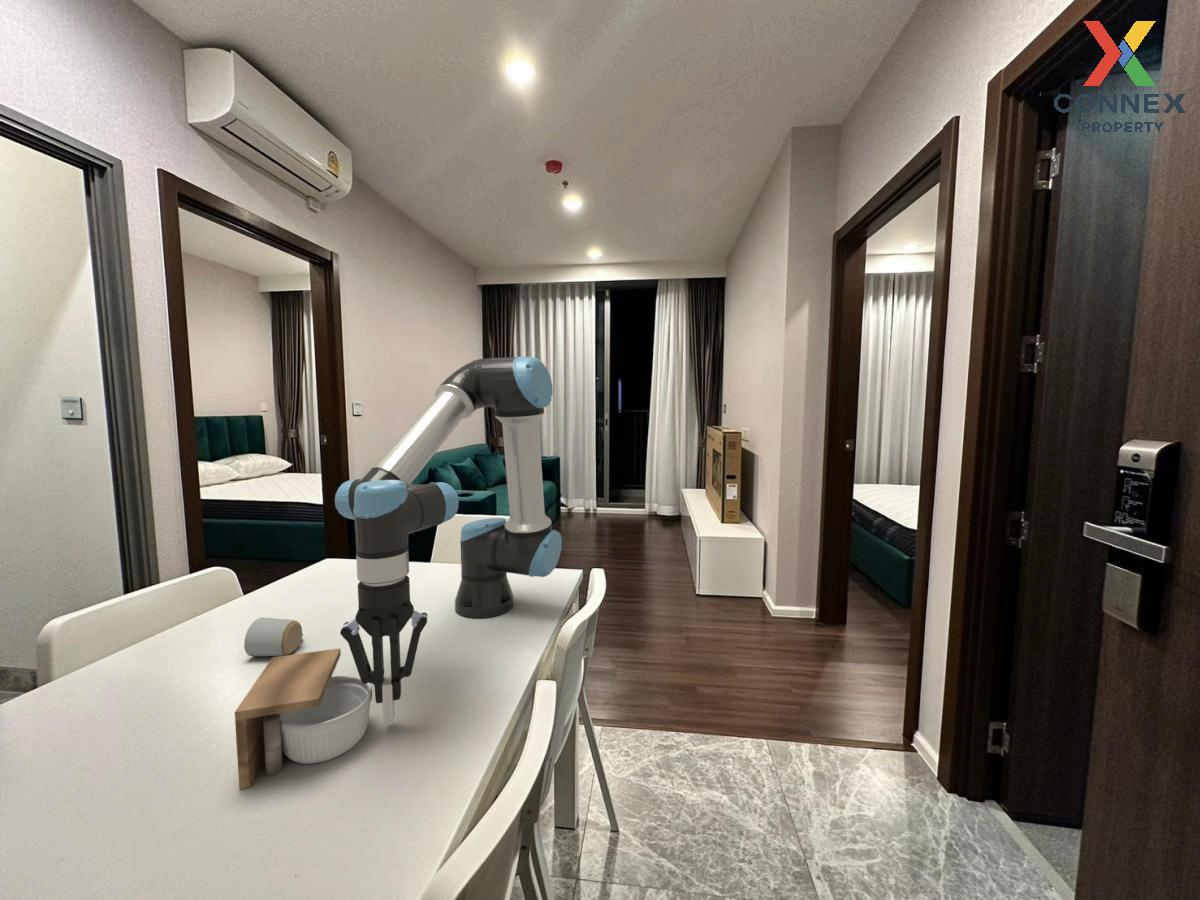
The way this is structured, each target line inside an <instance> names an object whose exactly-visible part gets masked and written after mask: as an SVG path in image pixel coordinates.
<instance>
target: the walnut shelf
mask: <svg viewBox="0 0 1200 900" xmlns="http://www.w3.org/2000/svg"><path fill="white" fill-rule="evenodd" d="M341 655H342V654H341V648H333V649H325V650H317V651H310V652H302V653H295V654H289V655H285V656H271V657H272V658H271V659H270V660H269V662H268V663H267V665H266V666H265V668H264V669H263V670H262V672H261V673H260V675H259V676H258V677H257V679H256V680H255V682H254V683H253V685H251V688H250V689H249V691H248V692H247V693H246V695H245V697H244V698H243V700H242V701H241V702H240V704H239V705H238V707H236V710H235V711H234V723H235V724H234V725H235V737H236V740H235V741H236V754H237V757H236V759H237V771H238V772H237V773H238V787H239V788H238V789H239V790H246V789H249V788H251V786H252V785H253V782H254V781H255V779H256V776H257V775H258V773H259V770H260V769H261V767H262V764H263V762H264V763H265V775H266V777H274V776H277V775H278V774H280V773H281V772H282V771H283V769H284V765H283V750H282V745H281V725H280V715H279V714H278V713H284V712H290V711H296V710H302V709H308V708H314V707H319V706H320V703H321V701H322V698H323V696H324V694H325V691H326V689H327V686H328V684H329V682H330V679H331V677H333V675H334V672H335V669H336V668H337V665H338V663H339V660H340V658H341Z"/></svg>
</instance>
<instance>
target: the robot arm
mask: <svg viewBox="0 0 1200 900" xmlns="http://www.w3.org/2000/svg"><path fill="white" fill-rule="evenodd" d="M545 365H546V364H544V362H543V361H541V360H540V359H539V358H536V357H533V356H532V357H530V356H515V357H492V358H491V357H488V358H487V357H485V358H482V357H481V358H478V359H474V360H473V361H470V362H467V363H466V364H465V365H463V366H461V367H459V368H458V369H457V370H456V371H454V372H453V373H452V374H450V375H449V376H448V377H447V378H446V379H445V380H444V381H443V382H442V383H441V384H440V385H439V386H438V387H437V388H436V390H435V392H434V397H435V398H434V399H432V401H430V402H429V404H428V405H427V406H425V407H426V408H425V409H423V410H422V411H421V413H420V414H419V415H418V416H417V417H416V418H415V419H414V420H413V422H412V423H411V424H410V425H409V426H408V427H407V428H406V429H405V431H404V432H403V433H402V434H401V435H400V436H399V437H398V438H397V440H395V442H394V443H393V444H392V446H390V447H389V448H388V449H387V451H386V452H385V453H384V454H383V455H382V456H381V457H380V458H379V460H378V461H377V462H376V463H375V464H374V465H373V466H372V467H371V468H370V470H369V471H368V472H367V473H366V474H365V475H364V476H363V478H362V479H361V478H355V479H349V480H347V481H344V482H342V483H341V485H340V486H339V487H338V489H337V491H336V493H335V496H334V504H335V505H334V506H335V509H336V510H337V511H338V514H340V515H341V516H342V517H344V518H346V519H350V520H354V532H355V533H354V534H355V547H356V554H355V556H356V557H355V558H356V579H357V581H359V582H358V584H357V598H358V599H357V600H358V609H357V612H356V614H355V618H353V619H352V620H351V621H346V622H344V624H343V626H342V628H341V629H340V632H339V634H340V636H341V637H342V638H343V639H344V640H345V641H346V642H347V643H348V646H349V649H350V652H351V656H352V659H353V660H354V663H355V667H356V670H357V673H358V675H359V676H358V677H360V679H361V682H362V683H363V684H367V683H370V684H371V685H372V684H373V685H374V698H375V699H374V700H375V703H376V704H382V713H383V715H382V716H383V717H382V718H383V726H385V725H391V724H394V720H395V714H396V709H395V706H396V705H395V701H399V700H400V699H401V694H402V680H403V679H404V678H409V677H410V676H411V675H412V673H413V667H414V665H415V659H416V655H417V650H418V646H419V642H420V637H421V633H422V631H423V630H424V628H425V626H426V625H427V623H428V613H427V612H422V613H421V612H419V611H417V610H415V608H414V605H413V604H412V602H411V601H412V600H411V591H410V587H411V585H410V584H411V583H410V577H409V575H408V574H409V573H410V562H409V561H410V559H409V534H413V533H415V532H419V531H423V530H426V529H429V528H431V527H435V526H440V525H442V524H443V523H445V522H447V521H450V520H451V519H453V518H454V517H455V516H456V515H457V512H458V510H459V504H460V502H459V496H458V494H457V491H456V490H455V488H454V487H453V486H451V485H450V484H449V483H447V482H442V481H441V482H433V481H431V482H429V483H427V484H416V483H415V484H414V483H413V481H414V480H416V478H417V477H418V476H419V474H421V471H422V470H423V469H424V467H425V466H426V465H427V464H428V463H429V461H430V460H431V459H432V458H433V456H434V455H435V454H436V453H437V451H438V450H439V449H440V448H441V447H442V446H443V444H444V443H445V441H446V440H447V439H448V437H449V436H451V434H452V433H453V431H455V429H456V427H457V426H458V425H459V424H460V423H461V421H462V420H463V419H468V418H470V417H471V416H472V415H473V414H474V412H475V411H477V410H479V409H482V408H494V409H493V410H494V417H495V418H496V419H497V420H498V421H499V422H500V423H501V425H502V437H503V450H504V451H503V452H504V460H505V462H504V463H505V472H506V473H505V474H506V484H507V486H506V487H507V497H508V509H509V518H508V520H506V519H505V518H503V517H491V518H482V519H477V520H473V521H469V522H467V523H465V524H464V525H463V526H462V528H461V529H460V540H459V542H460V563H461V564H460V570H461V574H460V575H461V579H460V580H461V581H460V583H459V587H458V588H457V589H458V590H457V592H456V596H455V600H454V610H455V611H454V612H456V613H457V614H458V615H460V616H462V617H465V618H471V619H485V618H492V617H496V616H500V615H503V614H505V613H507V612H509V611H510V610H512V609H513V607H514V602H515V601H514V597H515V596H514V593H513V591H512V588H511V585H510V582H509V580H508V579H509V578H508V575H507V573H508V574H515V575H522V576H528V577H531V578H535V577H539V578H544V577H548V576H549V575H550V574H551V573H552V572H553V571H554V570H555V568H556V566H557V564H558V561H559V560H560V557H561V553H562V547H563V545H562V544H563V543H562V542H563V539H562V535H561V533H560V532H559V531H557V530H555V529H553V527H552V525H553V524H552V520H551V518H550V517H549V516H547V514H546V512H545V498H544V484H543V483H544V481H543V470H542V467H543V466H542V452H541V438H540V427H539V426H540V423H539V422H540V419H541V418H542V417H543V416H544V415H545V408H546V407H548V406H549V405H550V404H551V402H552V396H553V392H554V391H553V382H552V377H551V375H550V372H549V370H548V368H547V366H545ZM409 620H411V626H412V627H413V628H412V632H411V635H410V636H411V637H410V641H409V645H408V649H407V653H406V658H405V662H404V663H405V664H404V665H403V666H401V645H400V644H401V643H400V640H401V639H400V634H401V632H402V631H403V629H404V628H405V627H406V625H407V623H408V622H409ZM360 627H361V628H362V629H363V631H365V632H366V633H367V635H368V636H370V637H371V646H372V665H373V666H372V667H373V668H372V667H371V665H370V661H369V659H368V655H367V653H366V649H365V647H364V644H363V641H362V637H361V635H360ZM383 637H389V638H388V639H389V650H390V651H389V654H390V676H389V675H388V676H385V672H386V671H385V665H384V664H385V661H384V660H385V659H384V642H383V641H384V639H383ZM372 669H373V670H372Z"/></svg>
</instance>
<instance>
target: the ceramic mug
mask: <svg viewBox="0 0 1200 900" xmlns="http://www.w3.org/2000/svg"><path fill="white" fill-rule="evenodd" d="M303 634H304V633H303V627H302V625H301V623H300V622H299V621H297V620H294V619H289V618H272V617H259V618H257V619H255V620H254V621H253V622H252V623H251V624H250V625H249V627H248V629H247V630H246V634H245V636H244V645H243V646H244V647H243V648H244V651H245V654H246V655H248V656H249V657H279V656H286V655H292V654H293V652H295V651H296V650H297V648H298V647H299V645H300V644H301V641H302V639H303Z"/></svg>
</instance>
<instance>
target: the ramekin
mask: <svg viewBox="0 0 1200 900" xmlns="http://www.w3.org/2000/svg"><path fill="white" fill-rule="evenodd" d="M372 690H373V687H372V684H371V683H367V684H363V683H362V682H361V679H360V676H355V675H338V676H336V675H335V676H332V677H331V679H330V682H329V684H328V686H327V689H326V691H325V694H324V696H323V698H322V701H321V703H320V706H319V707H314V708H308V709H302V710H296V711H290V712H284V713H278V714H279V715H280V725H281V745H282V753H283V754H284V755H285V756H286V757H287V758H288V759H290V760H291V761H293V762H295V763H299V764H305V765H306V764H307V765H308V764H309V765H310V764H317V763H323V762H326V761H330V760H333V759H335V758H338V757H339V756H342V755H344V754H345V753H347V752H348V751H350V750H351V749H353V747H355V746H356V745H357V744H358V743H359V741H360V740H361V739H362V738H363V736H364V735H365V733H366V731H367V729H368V725H369V718H370V708H371V702H372V699H373V691H372Z"/></svg>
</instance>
